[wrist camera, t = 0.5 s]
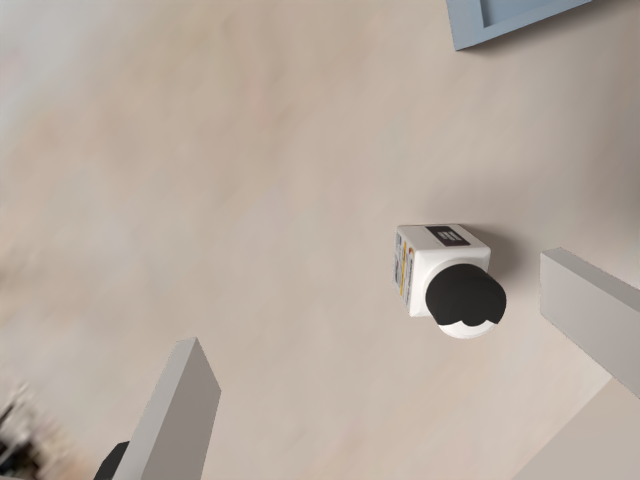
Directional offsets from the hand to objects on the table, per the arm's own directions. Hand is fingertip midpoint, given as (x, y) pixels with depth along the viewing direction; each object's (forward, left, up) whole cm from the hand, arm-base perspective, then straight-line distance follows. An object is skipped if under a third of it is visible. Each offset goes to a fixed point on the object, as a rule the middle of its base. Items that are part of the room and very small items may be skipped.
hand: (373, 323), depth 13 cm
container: (+13, +9, -27) cm, 32 cm away
